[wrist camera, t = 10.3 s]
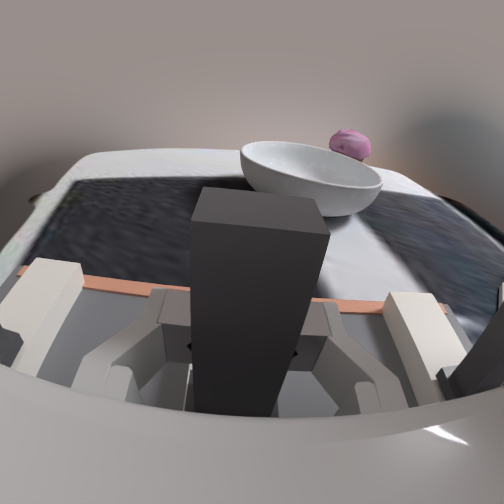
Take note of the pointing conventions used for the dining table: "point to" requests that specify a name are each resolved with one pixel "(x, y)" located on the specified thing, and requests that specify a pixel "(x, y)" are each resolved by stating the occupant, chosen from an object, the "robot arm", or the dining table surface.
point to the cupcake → (350, 144)
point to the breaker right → (477, 364)
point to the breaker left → (9, 346)
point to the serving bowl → (310, 175)
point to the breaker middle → (249, 296)
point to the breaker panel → (175, 375)
